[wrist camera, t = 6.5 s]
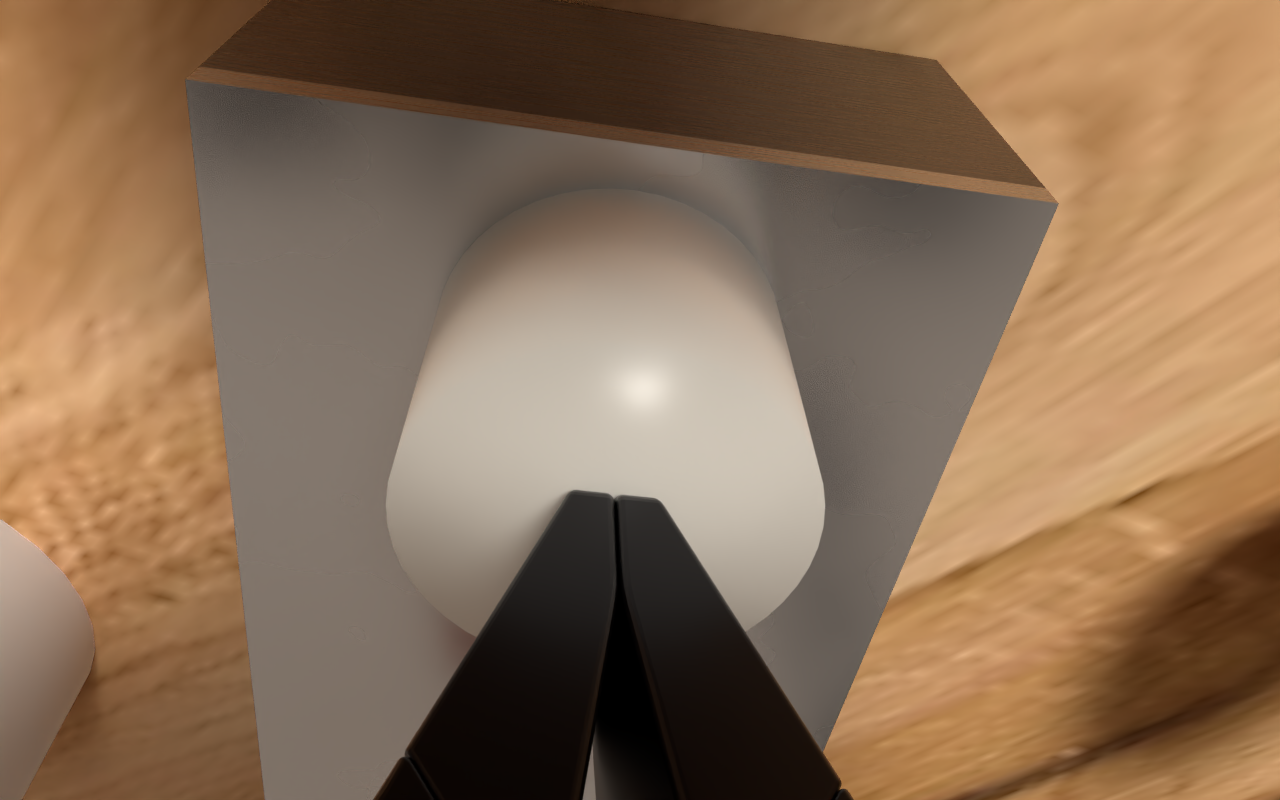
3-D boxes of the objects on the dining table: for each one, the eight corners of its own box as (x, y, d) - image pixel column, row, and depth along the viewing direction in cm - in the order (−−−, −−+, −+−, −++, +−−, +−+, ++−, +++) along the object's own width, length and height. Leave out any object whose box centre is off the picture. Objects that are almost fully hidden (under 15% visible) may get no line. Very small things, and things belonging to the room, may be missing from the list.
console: (683, 842, 27) (694, 1049, 23) (341, 818, 26) (290, 1030, 22) (936, 60, 15) (1058, 203, 11) (313, -37, 14) (184, 79, 10)
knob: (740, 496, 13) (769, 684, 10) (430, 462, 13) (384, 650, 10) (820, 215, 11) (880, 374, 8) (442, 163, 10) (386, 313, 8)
